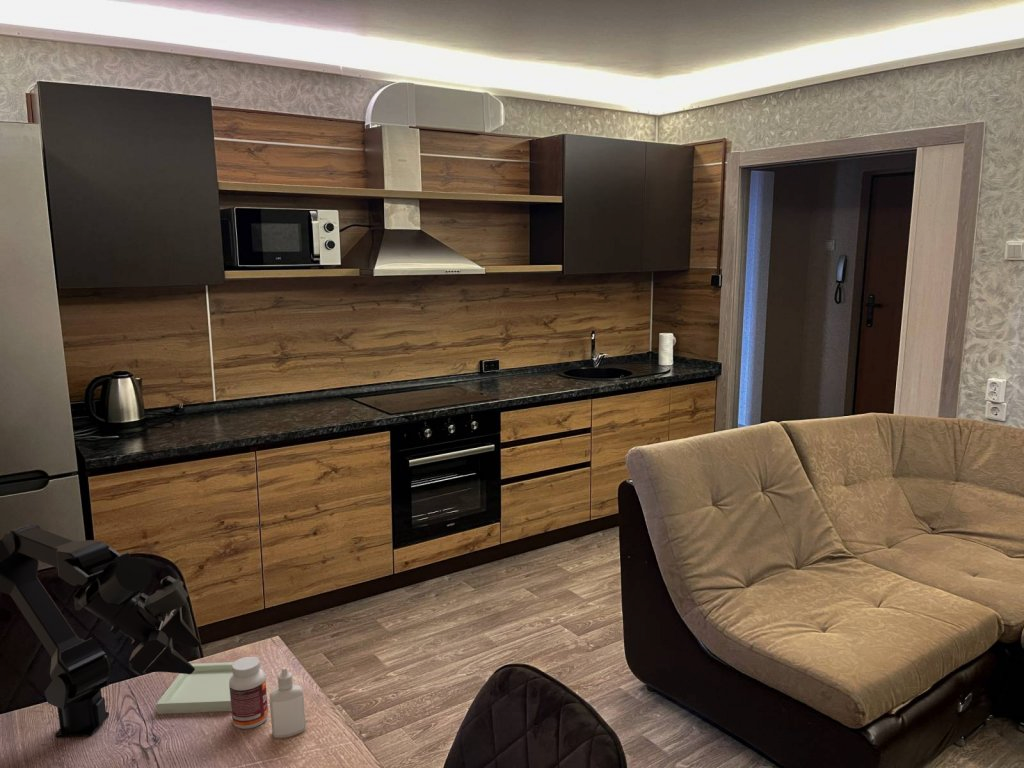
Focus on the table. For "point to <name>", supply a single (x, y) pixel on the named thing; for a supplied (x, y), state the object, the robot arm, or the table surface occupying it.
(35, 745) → the table surface
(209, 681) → the tray
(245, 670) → the pill bottle
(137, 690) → the table surface
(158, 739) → the table surface
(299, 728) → the eye dropper bottle
